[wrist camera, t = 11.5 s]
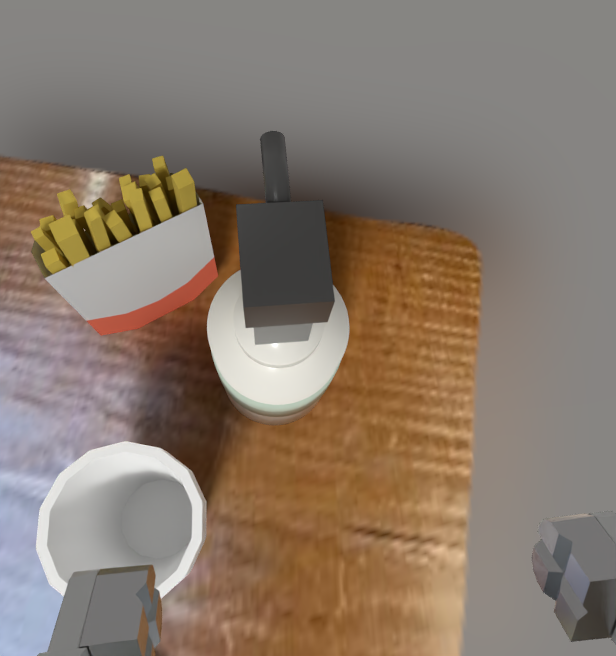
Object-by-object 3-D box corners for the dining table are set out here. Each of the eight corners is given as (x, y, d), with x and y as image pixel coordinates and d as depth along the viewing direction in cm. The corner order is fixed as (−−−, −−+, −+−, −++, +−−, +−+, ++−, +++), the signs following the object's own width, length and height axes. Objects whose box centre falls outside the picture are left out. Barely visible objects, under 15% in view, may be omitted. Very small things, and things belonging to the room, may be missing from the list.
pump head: (248, 359, 33) (243, 307, 24) (239, 221, 35) (230, 130, 27) (316, 354, 33) (334, 301, 25) (302, 218, 36) (313, 127, 27)
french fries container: (86, 300, 49) (-8, 194, 32) (197, 246, 52) (163, 120, 35) (109, 344, 48) (24, 258, 31) (220, 287, 51) (198, 177, 34)
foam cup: (105, 459, 46) (45, 443, 33) (220, 455, 46) (203, 438, 34) (97, 586, 43) (28, 621, 30) (219, 579, 44) (200, 611, 31)
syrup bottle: (224, 431, 47) (193, 376, 26) (219, 326, 50) (186, 204, 29) (333, 421, 48) (383, 361, 27) (321, 319, 51) (360, 195, 30)
